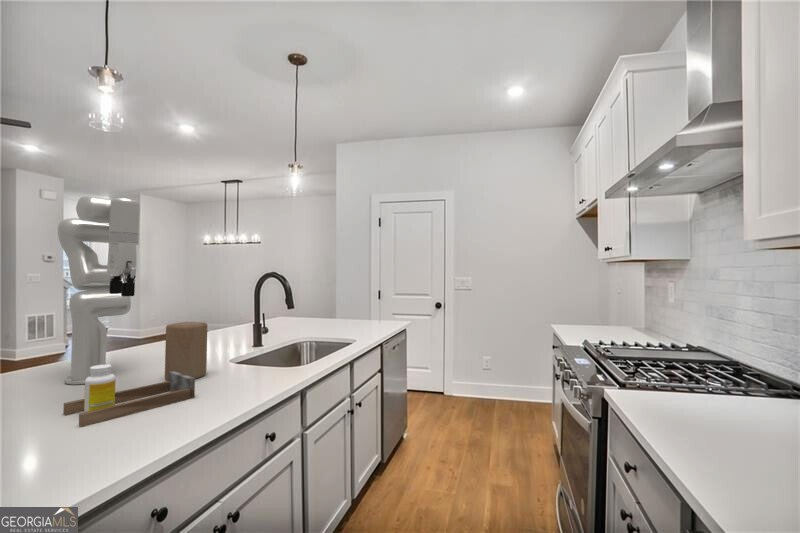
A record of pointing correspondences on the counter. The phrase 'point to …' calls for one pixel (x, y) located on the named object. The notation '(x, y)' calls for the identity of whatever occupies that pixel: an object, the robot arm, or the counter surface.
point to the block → (186, 349)
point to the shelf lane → (176, 383)
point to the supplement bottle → (99, 388)
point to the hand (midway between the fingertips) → (121, 294)
